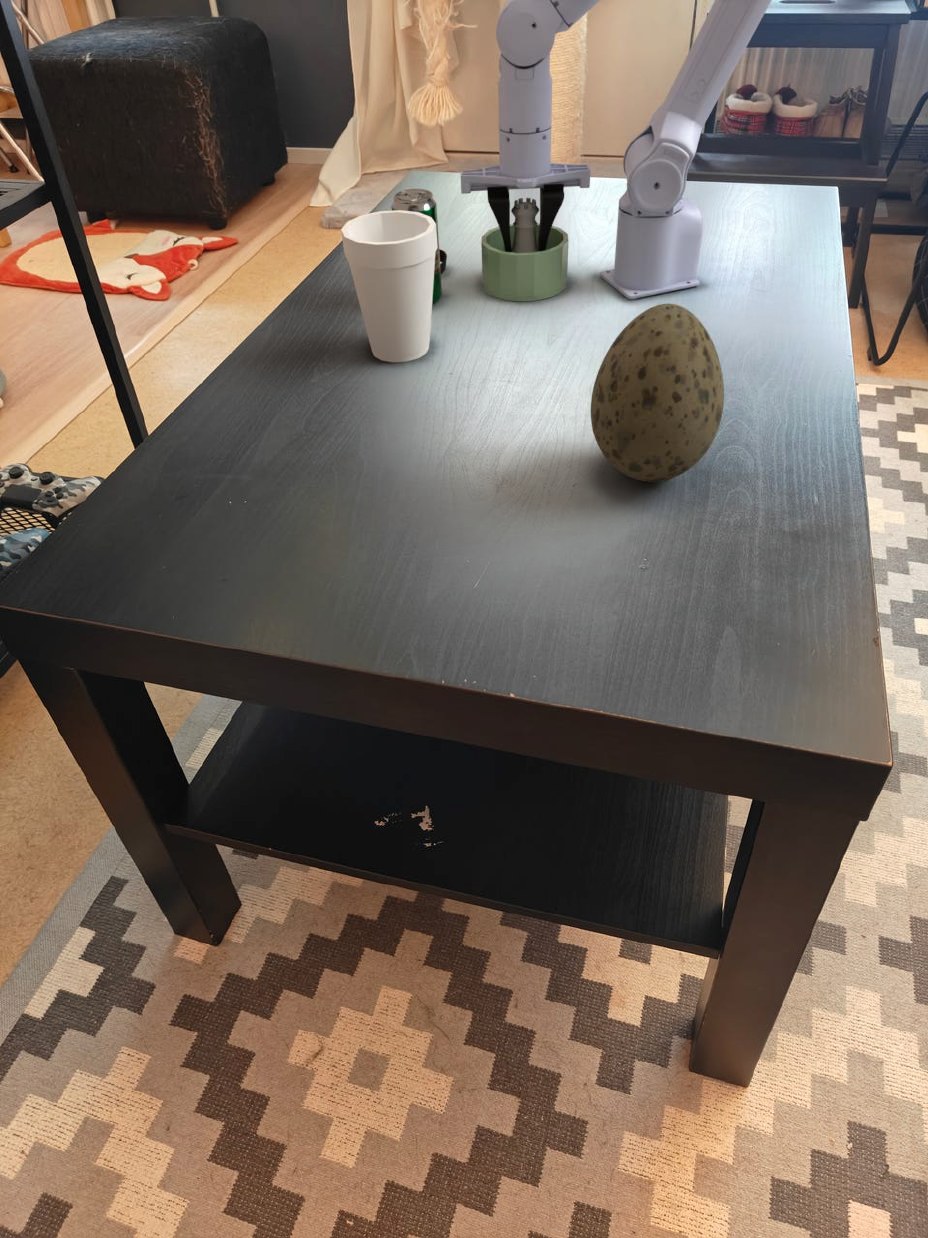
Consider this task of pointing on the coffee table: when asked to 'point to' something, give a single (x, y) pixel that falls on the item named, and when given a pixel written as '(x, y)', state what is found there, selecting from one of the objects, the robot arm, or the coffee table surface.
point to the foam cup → (393, 279)
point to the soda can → (426, 205)
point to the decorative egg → (658, 395)
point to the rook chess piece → (525, 226)
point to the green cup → (524, 267)
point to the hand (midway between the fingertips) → (524, 252)
